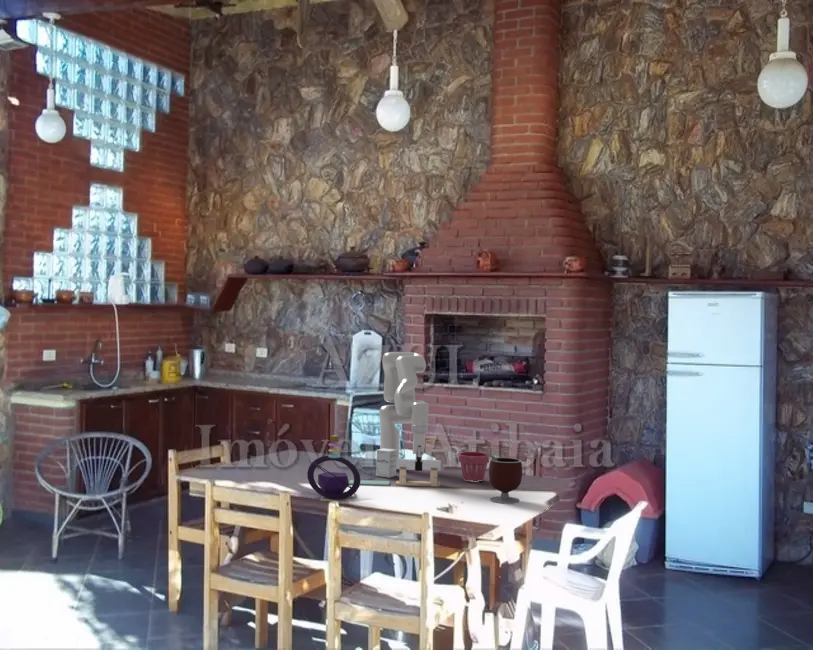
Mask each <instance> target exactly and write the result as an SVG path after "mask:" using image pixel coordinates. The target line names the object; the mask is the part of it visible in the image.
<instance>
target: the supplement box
mask: <svg viewBox="0 0 813 650" xmlns="http://www.w3.org/2000/svg"><path fill="white" fill-rule="evenodd" d="M396 458H397V450H394V449H386V448H382V449H380V448H379V449H377V450H376V465H375V477H382V478H388V479H389V478H390V479H391V478H393V477H395V476H397V474H396V473H397V469H396Z"/></svg>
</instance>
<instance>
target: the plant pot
mask: <svg viewBox="0 0 813 650" xmlns="http://www.w3.org/2000/svg"><path fill="white" fill-rule="evenodd" d="M486 453H487V452H481V451H461V452H459V453H458V463H460V468H461V473H462V479H463V480H464V479H465V480H473V481H478V480H483V481H484V478H485V475H486V472H487V471H486V470H487V466H488V463H489V464H490V456H489V455H486Z"/></svg>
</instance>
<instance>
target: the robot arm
mask: <svg viewBox="0 0 813 650" xmlns="http://www.w3.org/2000/svg"><path fill="white" fill-rule="evenodd" d="M381 361H382V369H383V373H384V379H383V380H384V381H383V399H384V401H385V402H387V403H391V404H386V405H383V406H382V405H381V407H380V409H379V411H378V415H379V424H380V425H379V427H380V435H379V436H380V438H379V439H380V440H379V443H380V445H379V449H382V448H386V449H394V450H397V458H396V465H397V459H400V458H399V457H400V431H399V429H398V428H397V427H396V425H404V424H405V425H406V424H407V425H408V424H411V425H410V426H411V430H410V432H411V433H412V434H413V436H412V455H413V456H415V460H416V462H415V470H414V471H415V472H417V471H418V472H420V471H421V472H422V471H423V470H422V460H423V455H424V453H425V445H426V444H425V443H426V434H428V433H429V403H428V402H426V401H424V400H422V399H418V400H417V399H416V390H415V388H416V387H417V385H418V383H419V382H418V376H417V374H421V373H425V371H426V368H427V365H426V364H427V363H426V360H425V358H424V357H423V356H422V355H421V354H419V353H417V352H412V351H411V352H409V351H406V352H405V351H389V352H385V353H384V354H383V356H382V360H381ZM392 403H393V404H392Z"/></svg>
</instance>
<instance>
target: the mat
mask: <svg viewBox="0 0 813 650" xmlns="http://www.w3.org/2000/svg"><path fill="white" fill-rule="evenodd" d="M348 482H349V486H351V485H353V483H354V479H350V480H349V481H348ZM390 483H391V482H390V480H365V479H364V480H363V479H360V486H385V487H386V486H388V487H389V486H390Z"/></svg>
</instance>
